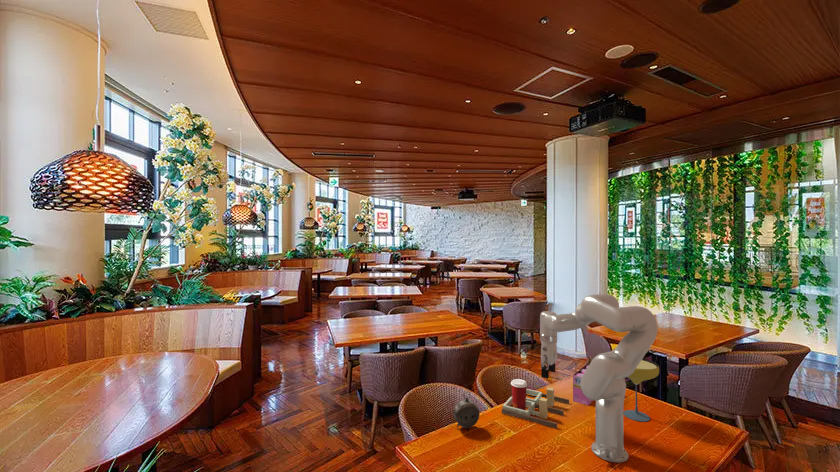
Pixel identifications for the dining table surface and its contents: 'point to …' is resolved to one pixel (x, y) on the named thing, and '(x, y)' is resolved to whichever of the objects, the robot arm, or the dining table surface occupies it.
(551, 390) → the square frame with handle
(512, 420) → the dining table surface
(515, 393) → the paper cup
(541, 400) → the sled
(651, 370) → the cocktail glass
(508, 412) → the lane rails
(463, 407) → the alarm clock
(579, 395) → the gum box
